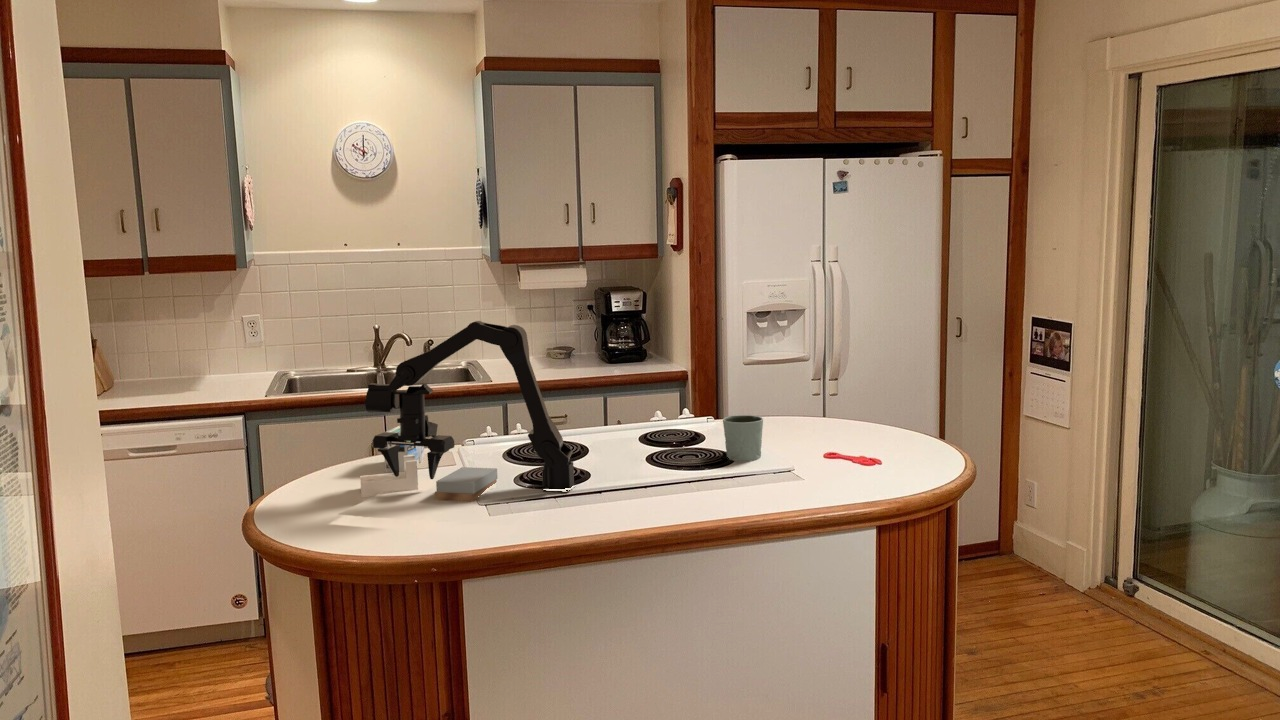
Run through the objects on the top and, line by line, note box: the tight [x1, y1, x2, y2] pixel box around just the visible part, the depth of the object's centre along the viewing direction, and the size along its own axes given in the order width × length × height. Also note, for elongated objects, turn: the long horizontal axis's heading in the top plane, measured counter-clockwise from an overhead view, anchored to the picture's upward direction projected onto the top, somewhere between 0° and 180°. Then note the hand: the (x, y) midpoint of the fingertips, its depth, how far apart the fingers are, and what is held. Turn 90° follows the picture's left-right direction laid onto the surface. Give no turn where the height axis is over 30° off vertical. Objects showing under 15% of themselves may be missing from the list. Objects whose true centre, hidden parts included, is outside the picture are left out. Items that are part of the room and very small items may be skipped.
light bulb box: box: [384, 425, 426, 473], centre depth 251 cm, size 11×7×11 cm, turn 168°
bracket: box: [359, 455, 419, 499], centre depth 233 cm, size 13×7×8 cm, turn 107°
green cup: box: [722, 414, 764, 463], centre depth 249 cm, size 10×10×12 cm
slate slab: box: [435, 466, 499, 494], centre depth 227 cm, size 9×14×2 cm, turn 166°
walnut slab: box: [434, 479, 498, 503], centre depth 227 cm, size 9×14×2 cm, turn 164°
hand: (414, 477), depth 230 cm, fingers open, 9 cm apart
